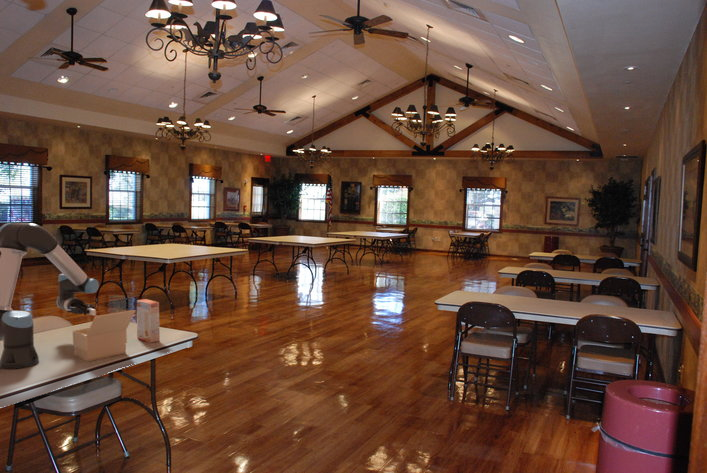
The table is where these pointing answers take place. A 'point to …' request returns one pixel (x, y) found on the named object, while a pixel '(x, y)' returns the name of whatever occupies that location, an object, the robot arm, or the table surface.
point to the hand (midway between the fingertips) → (94, 312)
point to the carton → (99, 344)
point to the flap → (110, 322)
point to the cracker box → (148, 320)
